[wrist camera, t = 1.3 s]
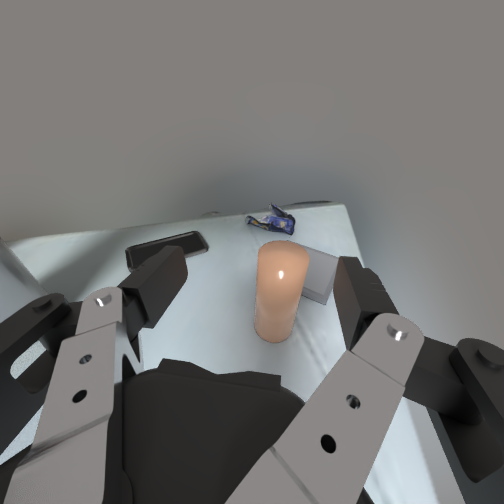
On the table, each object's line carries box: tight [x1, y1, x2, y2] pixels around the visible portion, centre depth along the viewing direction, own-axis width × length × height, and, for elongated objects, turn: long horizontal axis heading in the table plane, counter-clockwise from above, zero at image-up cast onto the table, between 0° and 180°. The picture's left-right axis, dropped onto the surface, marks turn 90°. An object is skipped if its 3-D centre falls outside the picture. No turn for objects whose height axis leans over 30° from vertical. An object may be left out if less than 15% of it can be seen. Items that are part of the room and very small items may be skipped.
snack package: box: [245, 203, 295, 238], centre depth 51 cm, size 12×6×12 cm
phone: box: [125, 231, 208, 273], centre depth 44 cm, size 8×1×15 cm
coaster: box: [287, 240, 339, 305], centre depth 40 cm, size 12×12×1 cm
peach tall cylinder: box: [254, 241, 310, 343], centre depth 27 cm, size 6×6×13 cm
